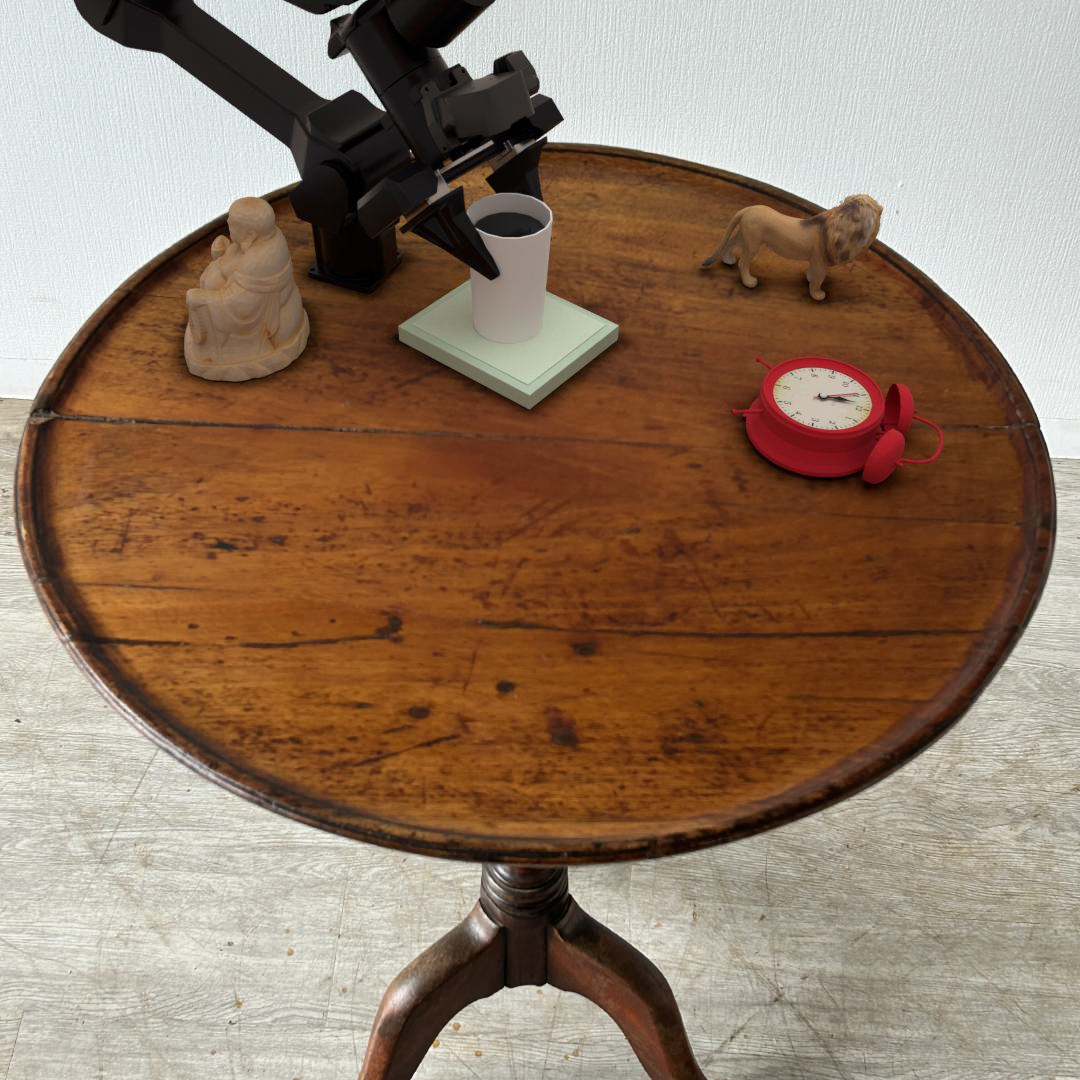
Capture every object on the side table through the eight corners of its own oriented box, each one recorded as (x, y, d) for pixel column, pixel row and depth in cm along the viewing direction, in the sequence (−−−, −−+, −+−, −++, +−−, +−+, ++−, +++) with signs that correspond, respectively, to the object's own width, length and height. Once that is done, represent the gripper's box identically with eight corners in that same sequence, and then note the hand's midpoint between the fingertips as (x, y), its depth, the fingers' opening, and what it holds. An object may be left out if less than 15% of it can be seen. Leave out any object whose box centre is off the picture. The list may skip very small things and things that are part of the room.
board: (399, 340, 94) (397, 324, 93) (491, 279, 101) (491, 263, 100) (529, 410, 88) (529, 393, 87) (618, 339, 95) (619, 323, 94)
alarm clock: (757, 338, 90) (956, 350, 83) (761, 402, 94) (951, 418, 88) (721, 416, 83) (934, 435, 77) (727, 481, 87) (930, 504, 81)
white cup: (553, 304, 96) (558, 197, 88) (541, 351, 91) (546, 243, 84) (476, 295, 96) (475, 188, 89) (460, 341, 92) (458, 233, 84)
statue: (332, 264, 83) (192, 231, 80) (298, 408, 92) (171, 382, 89) (339, 182, 91) (212, 149, 88) (307, 321, 101) (191, 295, 98)
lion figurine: (862, 274, 103) (886, 184, 96) (863, 308, 99) (888, 216, 93) (702, 255, 104) (715, 165, 98) (697, 287, 101) (710, 195, 94)
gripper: (373, 67, 73) (503, 277, 77) (550, -15, 83) (656, 173, 87) (303, 142, 82) (422, 326, 86) (470, 59, 92) (570, 227, 96)
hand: (521, 260), depth 88 cm, fingers closed on white cup, 6 cm apart
